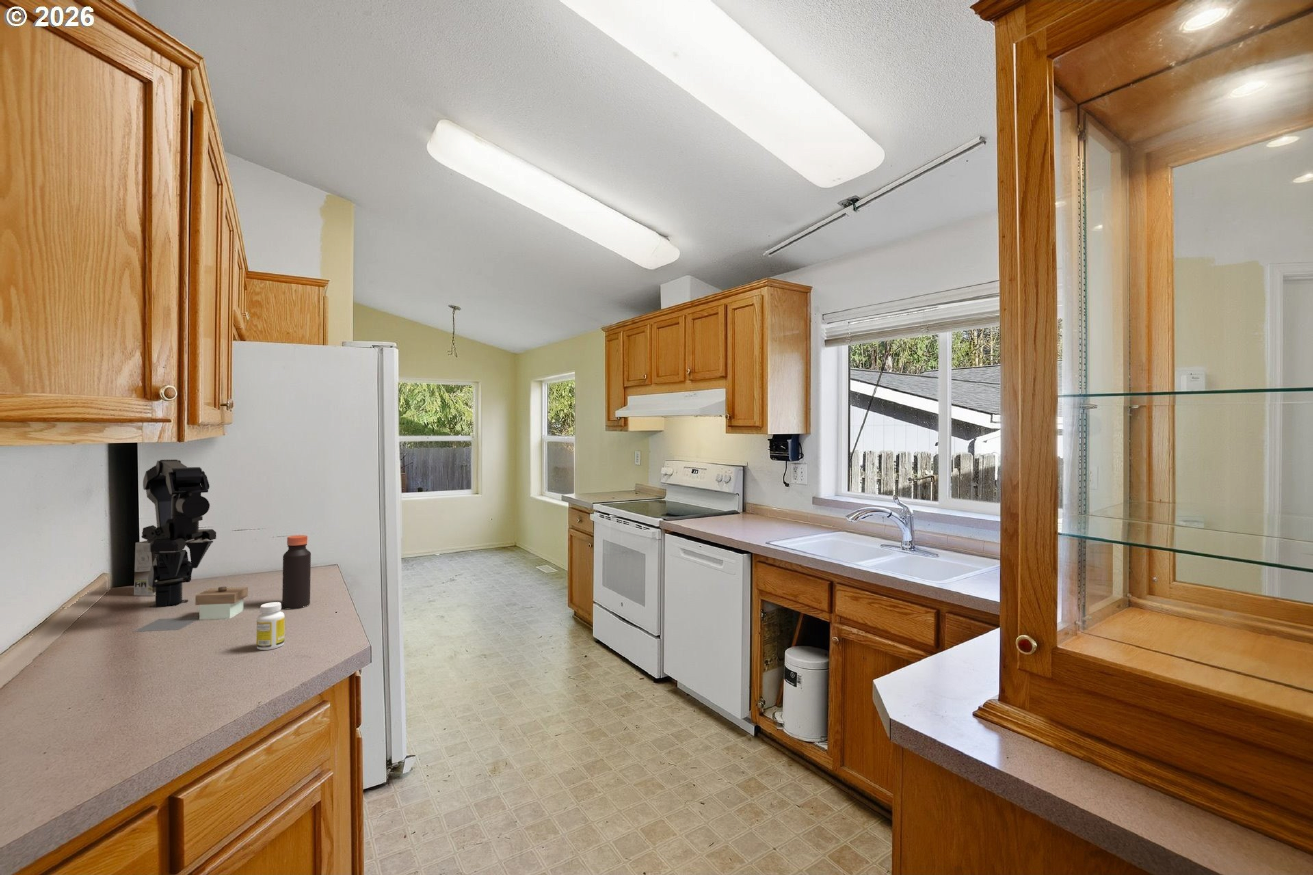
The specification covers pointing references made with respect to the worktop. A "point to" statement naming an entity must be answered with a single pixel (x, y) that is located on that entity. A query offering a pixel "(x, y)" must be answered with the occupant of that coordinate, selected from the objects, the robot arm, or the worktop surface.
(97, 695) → the worktop surface
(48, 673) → the worktop surface
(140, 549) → the coffee box
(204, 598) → the cover
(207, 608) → the pale green box
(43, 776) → the worktop surface
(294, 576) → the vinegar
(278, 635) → the supplement bottle
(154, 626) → the mat
